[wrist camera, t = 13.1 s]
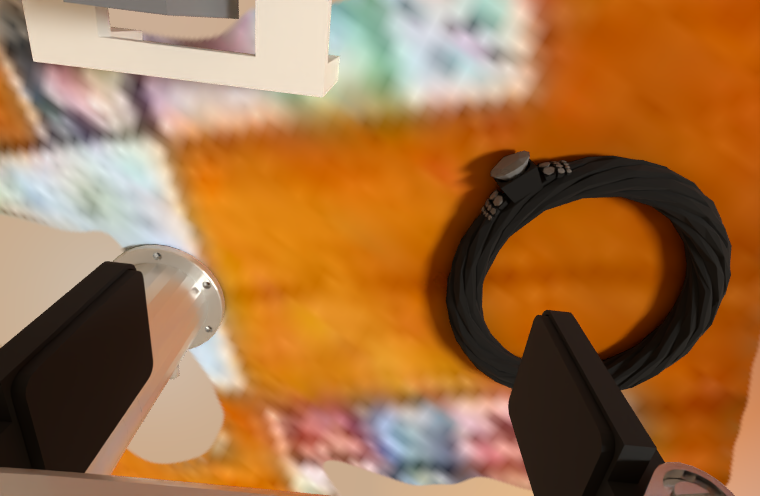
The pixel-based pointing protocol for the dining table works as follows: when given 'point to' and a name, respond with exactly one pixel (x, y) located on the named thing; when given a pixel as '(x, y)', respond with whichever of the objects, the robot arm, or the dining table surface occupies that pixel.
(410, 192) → the dining table surface
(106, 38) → the cream frame with rod
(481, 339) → the cable lock
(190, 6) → the grey piece
